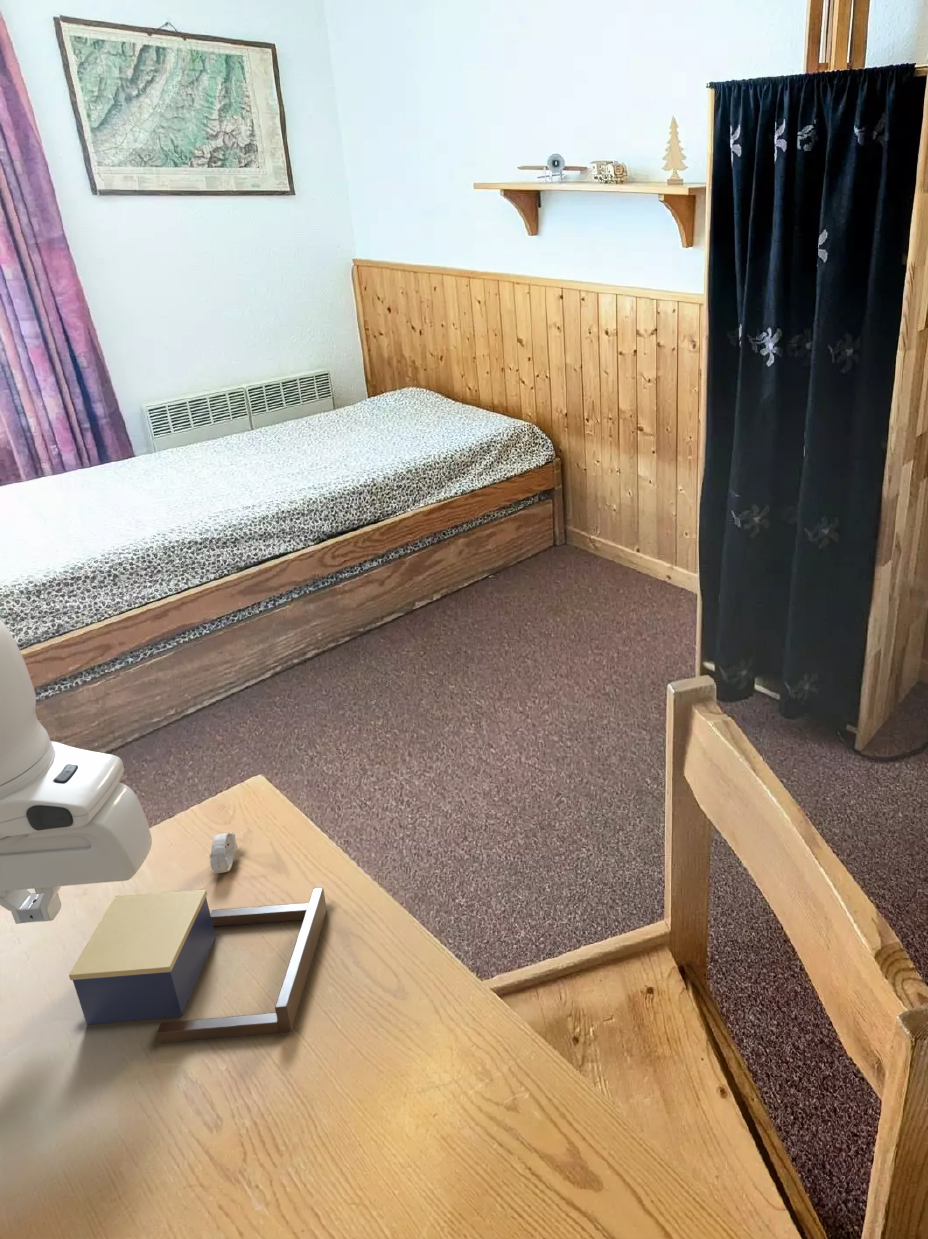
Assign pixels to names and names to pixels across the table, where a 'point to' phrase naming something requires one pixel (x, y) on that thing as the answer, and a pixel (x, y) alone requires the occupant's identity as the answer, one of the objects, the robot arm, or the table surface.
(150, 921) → the toy box
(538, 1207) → the table surface
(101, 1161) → the table surface
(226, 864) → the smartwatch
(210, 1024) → the bay
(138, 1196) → the table surface
